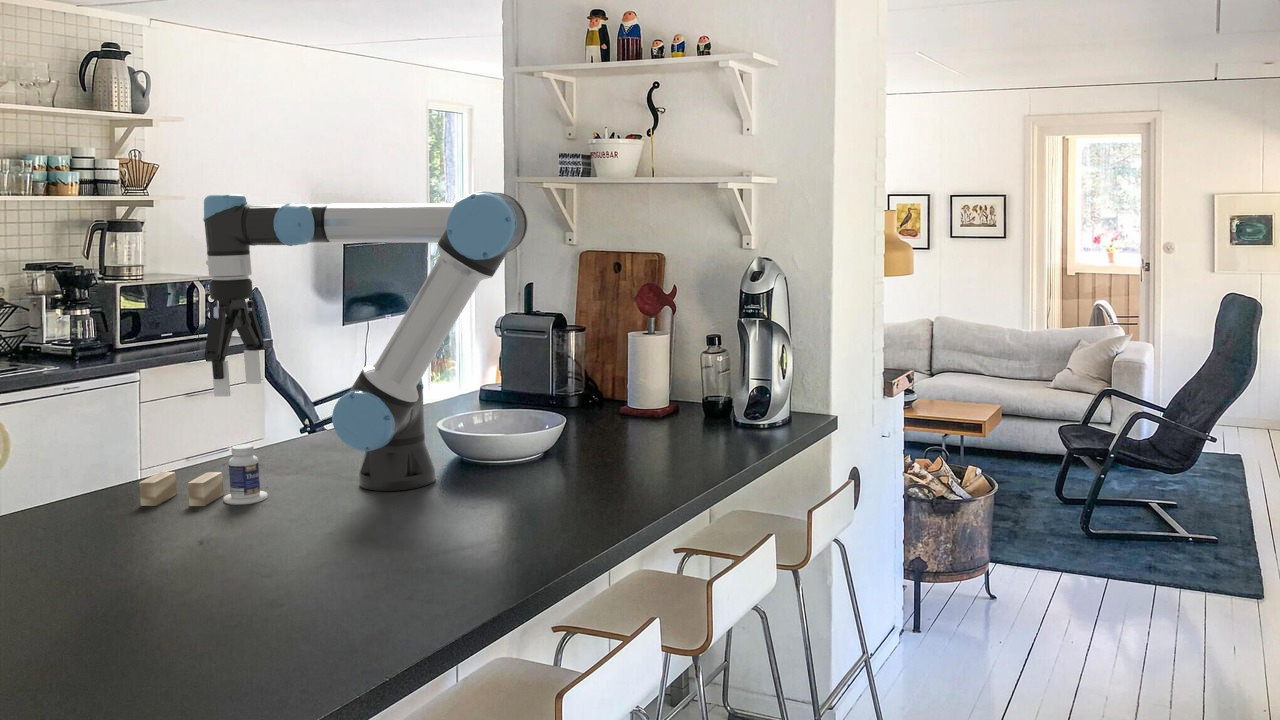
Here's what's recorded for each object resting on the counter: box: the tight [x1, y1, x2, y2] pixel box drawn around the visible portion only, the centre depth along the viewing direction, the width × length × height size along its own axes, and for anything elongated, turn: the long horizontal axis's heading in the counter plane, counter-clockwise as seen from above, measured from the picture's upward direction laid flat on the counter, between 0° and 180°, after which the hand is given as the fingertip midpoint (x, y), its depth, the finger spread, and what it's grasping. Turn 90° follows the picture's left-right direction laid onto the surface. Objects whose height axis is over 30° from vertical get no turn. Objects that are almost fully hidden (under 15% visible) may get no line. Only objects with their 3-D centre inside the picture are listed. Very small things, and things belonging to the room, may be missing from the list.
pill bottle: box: [228, 443, 261, 499], centre depth 207 cm, size 5×5×10 cm
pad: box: [223, 490, 269, 506], centre depth 207 cm, size 8×8×1 cm
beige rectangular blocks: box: [138, 471, 225, 507], centre depth 207 cm, size 12×8×4 cm, turn 86°
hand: (238, 389), depth 204 cm, fingers open, 13 cm apart
